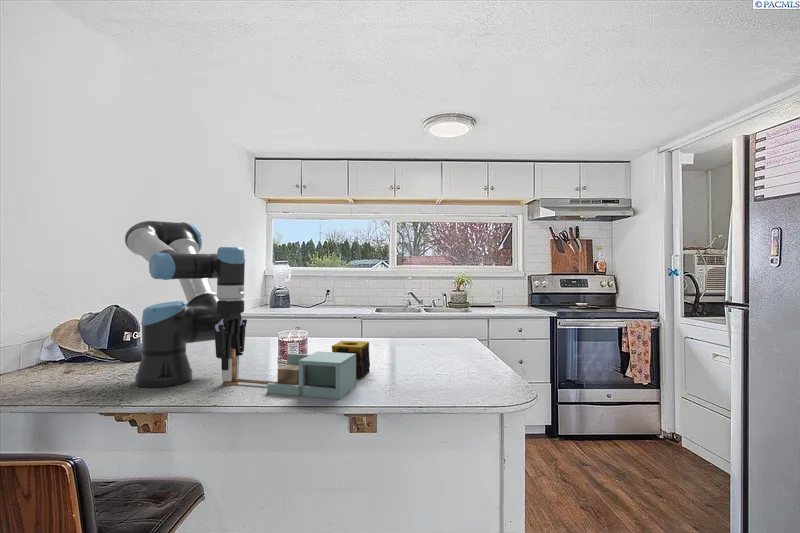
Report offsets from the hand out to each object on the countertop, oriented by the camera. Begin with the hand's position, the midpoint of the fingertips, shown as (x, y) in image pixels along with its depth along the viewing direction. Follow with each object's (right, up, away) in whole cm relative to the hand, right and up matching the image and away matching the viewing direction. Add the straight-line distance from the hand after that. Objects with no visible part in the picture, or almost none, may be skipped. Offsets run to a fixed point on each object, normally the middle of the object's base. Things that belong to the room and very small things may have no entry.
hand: (230, 379), depth 132 cm
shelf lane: (+25, -1, -6) cm, 26 cm away
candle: (+34, -2, +11) cm, 36 cm away
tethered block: (+10, -1, -3) cm, 10 cm away
